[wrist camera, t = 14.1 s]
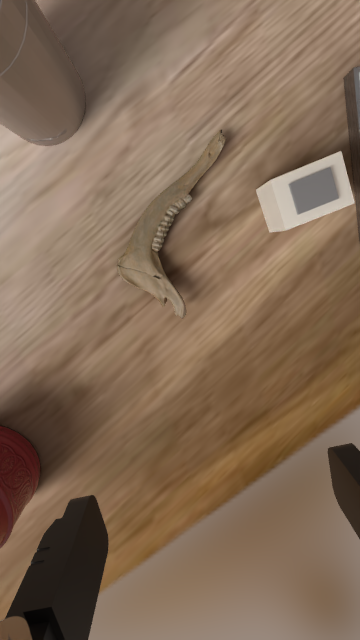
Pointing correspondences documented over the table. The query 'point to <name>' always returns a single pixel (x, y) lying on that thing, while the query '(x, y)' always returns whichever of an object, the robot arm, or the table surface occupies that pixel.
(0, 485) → the canister
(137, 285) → the jawbone
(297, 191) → the block
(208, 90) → the table surface
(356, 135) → the rail base
